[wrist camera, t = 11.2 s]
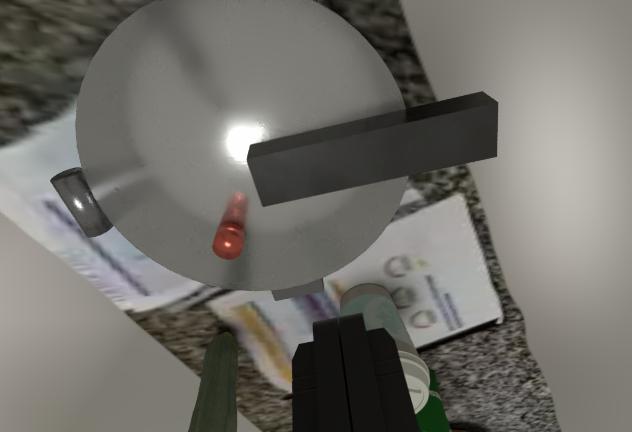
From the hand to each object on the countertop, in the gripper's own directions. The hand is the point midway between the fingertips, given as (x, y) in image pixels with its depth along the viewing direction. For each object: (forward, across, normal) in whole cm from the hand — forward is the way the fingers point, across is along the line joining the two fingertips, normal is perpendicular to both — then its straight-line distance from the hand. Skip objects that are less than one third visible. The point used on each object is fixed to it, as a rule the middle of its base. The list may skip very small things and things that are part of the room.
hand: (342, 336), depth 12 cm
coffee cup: (+25, -1, +24) cm, 35 cm away
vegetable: (+25, +15, +24) cm, 38 cm away
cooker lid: (+15, +3, 0) cm, 15 cm away
